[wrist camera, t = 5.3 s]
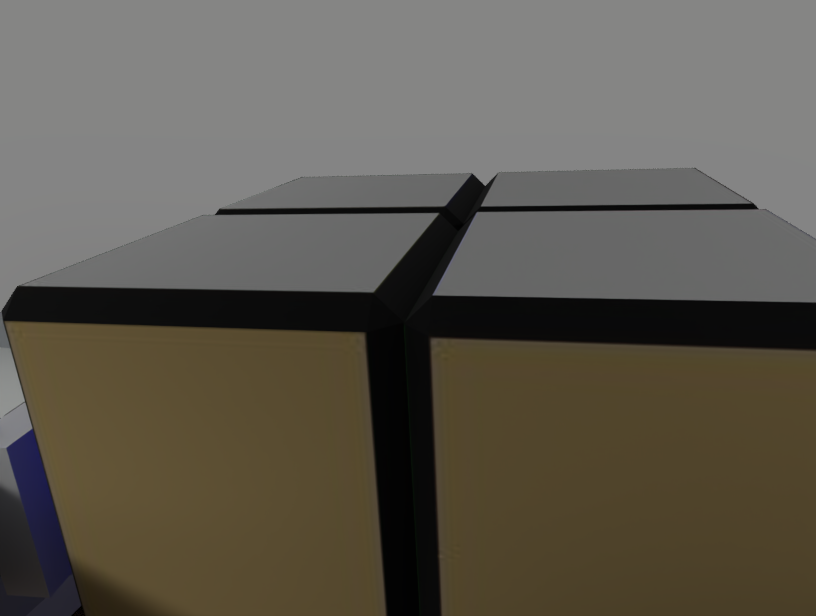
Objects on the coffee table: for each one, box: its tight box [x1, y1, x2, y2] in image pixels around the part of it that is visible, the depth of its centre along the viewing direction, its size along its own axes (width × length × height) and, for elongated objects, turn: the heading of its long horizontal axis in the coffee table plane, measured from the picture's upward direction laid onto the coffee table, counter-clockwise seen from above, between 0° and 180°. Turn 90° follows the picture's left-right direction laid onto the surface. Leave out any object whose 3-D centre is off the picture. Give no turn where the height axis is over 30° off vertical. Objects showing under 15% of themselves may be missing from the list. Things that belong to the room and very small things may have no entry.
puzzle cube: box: [2, 168, 816, 616], centre depth 12 cm, size 10×10×10 cm
